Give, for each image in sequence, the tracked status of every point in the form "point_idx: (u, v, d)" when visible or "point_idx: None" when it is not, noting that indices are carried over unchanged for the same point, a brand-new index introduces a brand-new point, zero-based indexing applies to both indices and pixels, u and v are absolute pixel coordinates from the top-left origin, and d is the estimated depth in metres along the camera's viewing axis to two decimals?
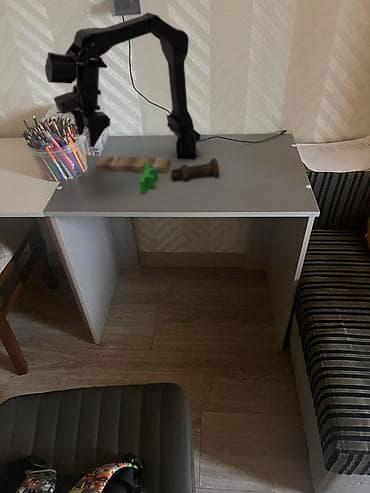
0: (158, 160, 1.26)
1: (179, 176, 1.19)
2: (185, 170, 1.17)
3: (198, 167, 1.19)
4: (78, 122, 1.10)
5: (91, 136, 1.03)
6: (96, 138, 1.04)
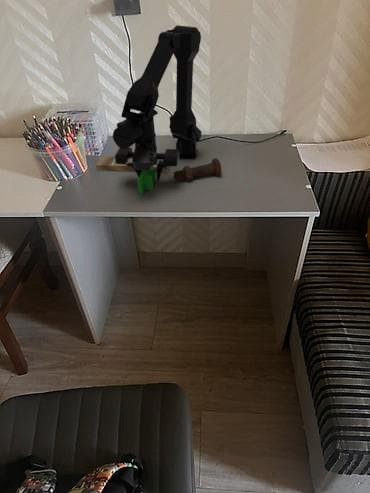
0: None
1: (182, 178, 1.18)
2: (188, 171, 1.17)
3: (201, 168, 1.18)
4: (139, 171, 1.15)
5: (160, 173, 1.15)
6: (161, 172, 1.16)
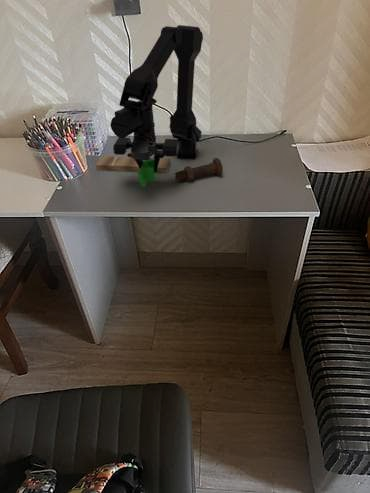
0: None
1: (184, 178, 1.18)
2: (190, 171, 1.17)
3: (202, 168, 1.18)
4: (140, 162, 1.13)
5: (158, 163, 1.13)
6: (158, 163, 1.14)
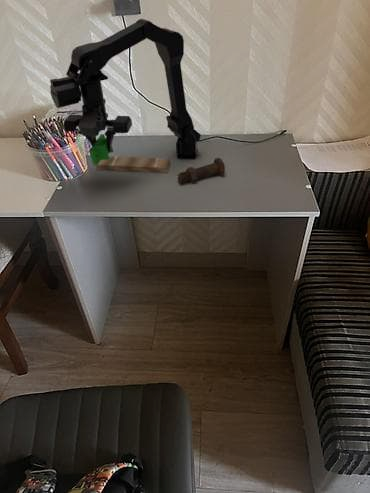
0: (158, 160, 1.26)
1: (187, 179, 1.17)
2: (193, 172, 1.16)
3: (204, 168, 1.18)
4: (93, 140, 1.10)
5: (110, 141, 1.10)
6: (112, 141, 1.11)
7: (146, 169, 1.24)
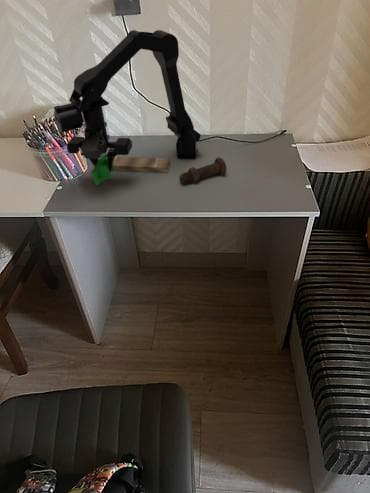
0: (158, 160, 1.26)
1: (189, 180, 1.17)
2: (195, 173, 1.16)
3: (206, 168, 1.18)
4: (95, 160, 1.15)
5: (112, 162, 1.15)
6: (113, 161, 1.16)
7: (146, 169, 1.24)
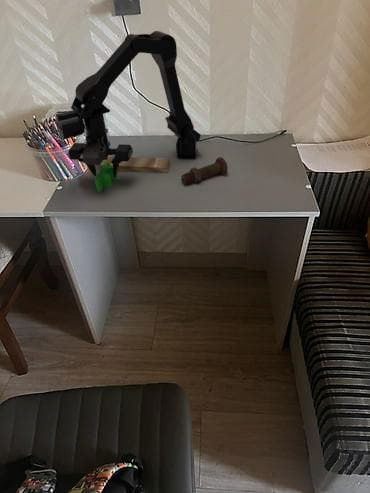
0: (158, 160, 1.26)
1: (191, 180, 1.17)
2: (197, 173, 1.16)
3: (207, 168, 1.18)
4: (92, 166, 1.17)
5: (117, 168, 1.16)
6: (118, 167, 1.17)
7: (146, 169, 1.24)
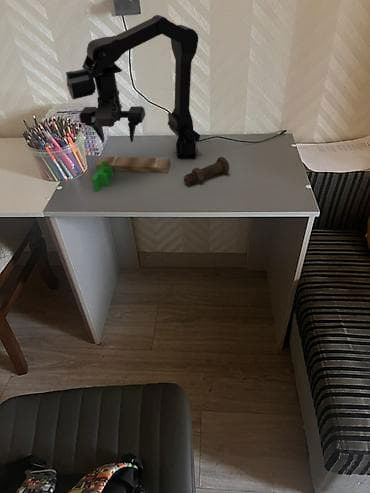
0: (158, 160, 1.26)
1: (194, 180, 1.16)
2: (200, 173, 1.16)
3: (210, 168, 1.18)
4: (100, 131, 1.15)
5: (133, 132, 1.13)
6: (134, 131, 1.15)
7: (146, 169, 1.24)
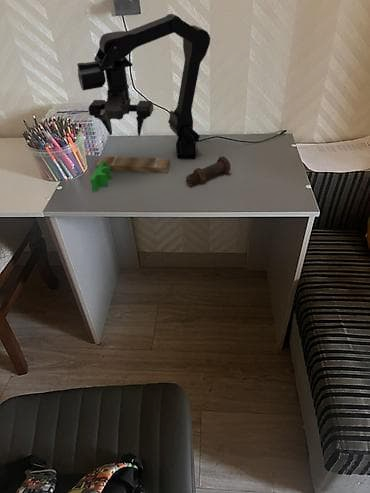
0: (158, 160, 1.26)
1: (196, 180, 1.16)
2: (202, 173, 1.16)
3: (211, 168, 1.18)
4: (108, 124, 1.16)
5: (141, 126, 1.15)
6: None
7: (146, 169, 1.24)
